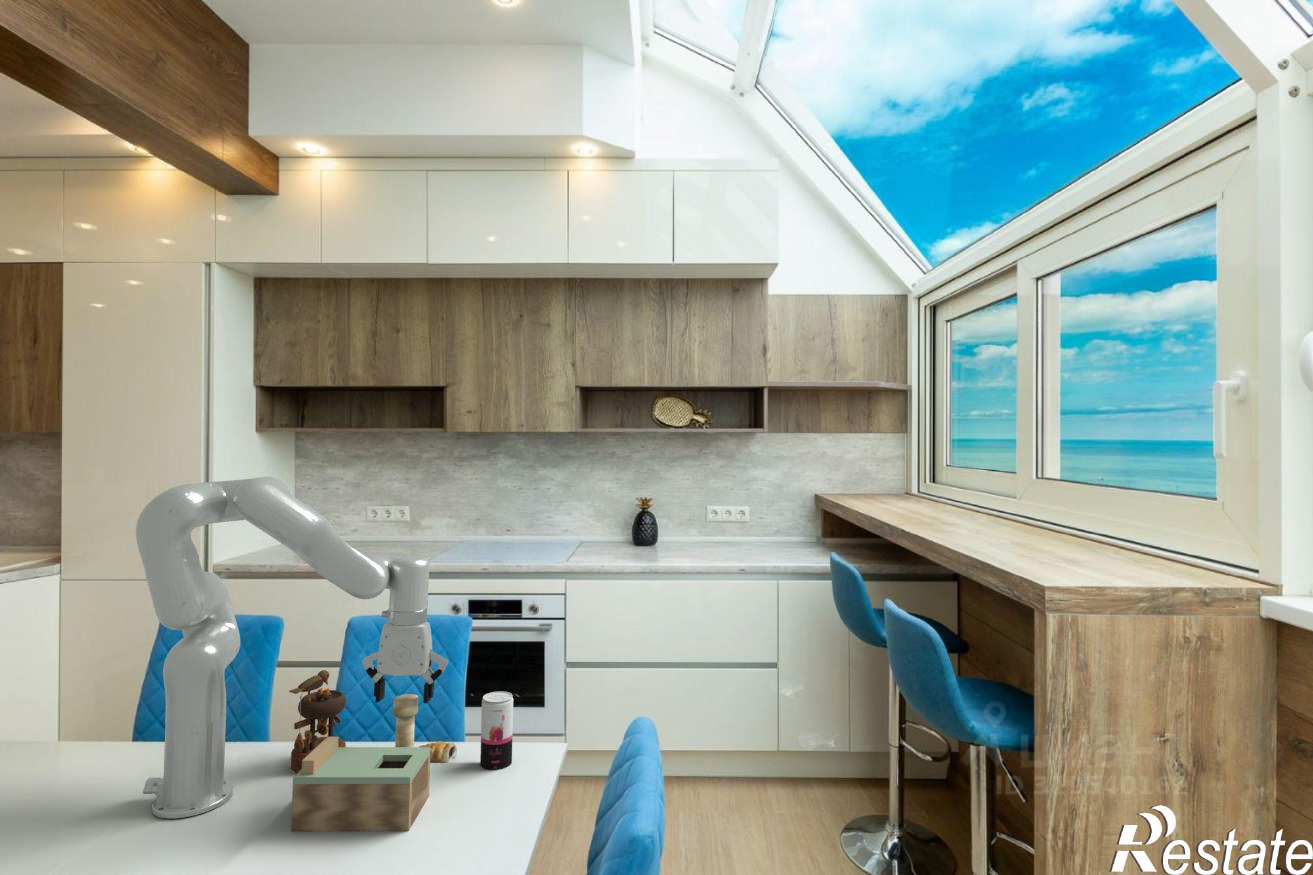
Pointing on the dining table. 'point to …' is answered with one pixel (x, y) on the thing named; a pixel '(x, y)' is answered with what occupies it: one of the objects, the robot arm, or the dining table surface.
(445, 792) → the dining table surface
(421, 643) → the robot arm
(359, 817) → the wooden box
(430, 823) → the dining table surface
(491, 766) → the beverage can
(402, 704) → the pin
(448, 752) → the pastry
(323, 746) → the green box lid
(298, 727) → the music box
